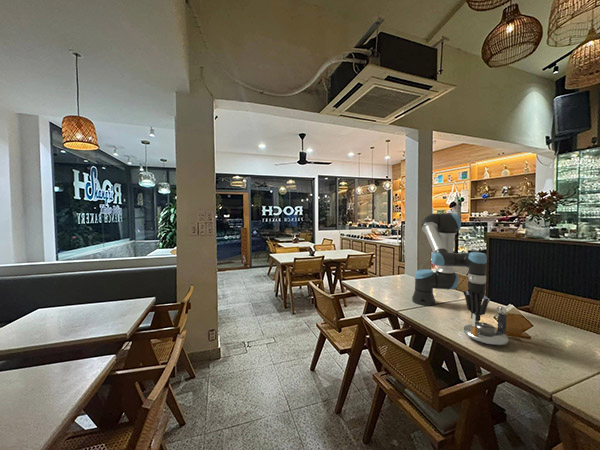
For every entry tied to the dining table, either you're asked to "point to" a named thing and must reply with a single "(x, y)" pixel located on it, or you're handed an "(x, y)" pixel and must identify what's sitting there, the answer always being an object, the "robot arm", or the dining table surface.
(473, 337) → the platter
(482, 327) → the cover
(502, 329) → the indicator post
